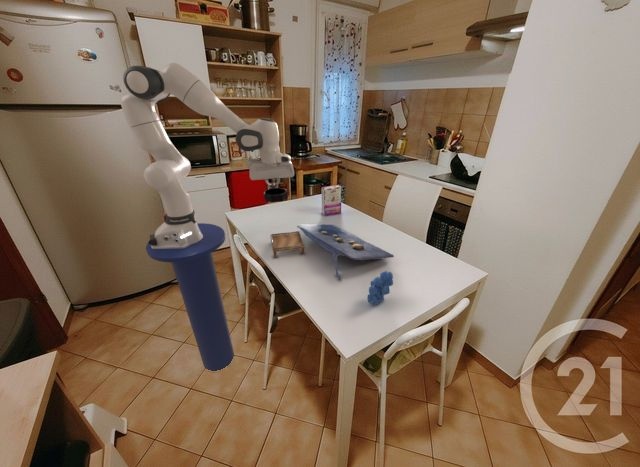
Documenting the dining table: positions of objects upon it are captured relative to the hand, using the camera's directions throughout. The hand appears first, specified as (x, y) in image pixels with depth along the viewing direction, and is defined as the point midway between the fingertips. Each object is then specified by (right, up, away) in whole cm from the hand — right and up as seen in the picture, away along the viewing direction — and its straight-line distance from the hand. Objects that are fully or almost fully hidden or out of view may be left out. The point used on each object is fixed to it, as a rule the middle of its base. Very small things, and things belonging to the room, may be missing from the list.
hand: (273, 187), depth 124 cm
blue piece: (+31, -29, -2) cm, 42 cm away
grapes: (+42, -45, -32) cm, 69 cm away
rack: (+7, -29, -2) cm, 30 cm away
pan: (+1, -4, -4) cm, 6 cm away
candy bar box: (+29, -10, +35) cm, 47 cm away
